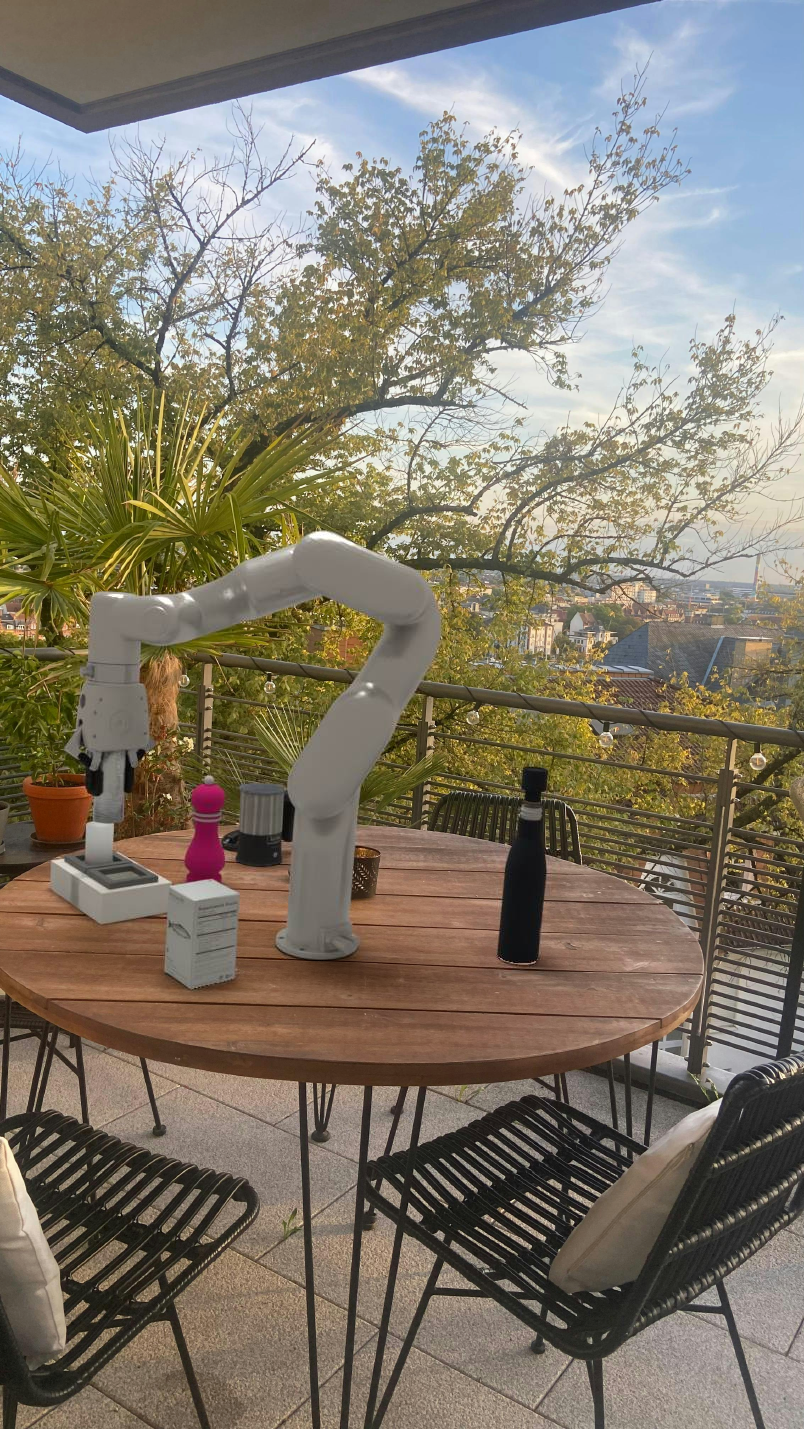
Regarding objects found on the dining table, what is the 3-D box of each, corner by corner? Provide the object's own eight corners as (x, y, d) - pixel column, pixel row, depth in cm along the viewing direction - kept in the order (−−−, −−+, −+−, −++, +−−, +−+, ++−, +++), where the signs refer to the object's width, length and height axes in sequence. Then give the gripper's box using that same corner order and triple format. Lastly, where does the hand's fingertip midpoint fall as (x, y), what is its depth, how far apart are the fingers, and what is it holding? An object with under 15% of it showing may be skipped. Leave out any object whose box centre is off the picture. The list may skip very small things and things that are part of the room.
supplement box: (162, 972, 136) (166, 884, 134) (209, 962, 141) (213, 877, 139) (189, 991, 130) (193, 900, 129) (236, 979, 135) (241, 892, 134)
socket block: (170, 912, 160) (173, 840, 158) (101, 924, 152) (103, 849, 150) (116, 879, 175) (118, 813, 173) (50, 888, 167) (52, 820, 165)
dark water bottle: (489, 951, 153) (507, 764, 149) (525, 949, 156) (543, 764, 152) (508, 967, 147) (526, 772, 143) (545, 964, 150) (564, 773, 146)
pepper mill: (219, 892, 172) (225, 781, 169) (178, 889, 172) (184, 778, 169) (227, 880, 179) (233, 773, 176) (188, 877, 179) (193, 770, 176)
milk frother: (268, 870, 187) (273, 794, 185) (196, 856, 192) (200, 783, 190) (300, 853, 200) (304, 782, 199) (232, 841, 205) (236, 772, 204)
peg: (128, 821, 149) (131, 744, 148) (101, 824, 146) (104, 746, 145) (114, 815, 153) (117, 739, 151) (87, 818, 150) (90, 741, 148)
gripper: (71, 678, 138) (67, 803, 140) (176, 676, 150) (171, 793, 152) (48, 672, 143) (45, 793, 146) (151, 671, 155) (147, 783, 157)
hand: (109, 791), depth 149 cm, fingers closed on peg, 4 cm apart
